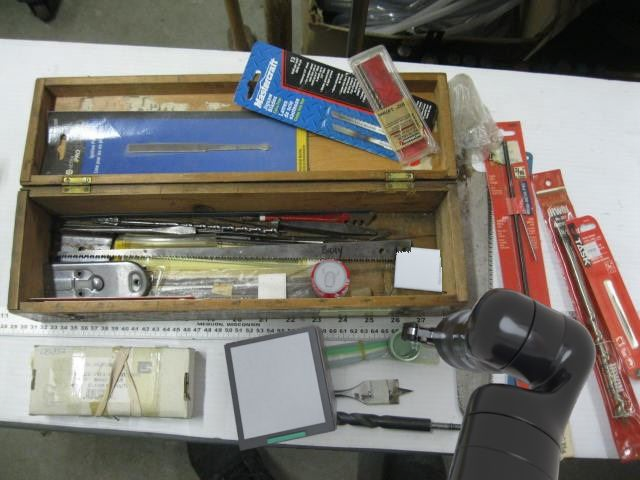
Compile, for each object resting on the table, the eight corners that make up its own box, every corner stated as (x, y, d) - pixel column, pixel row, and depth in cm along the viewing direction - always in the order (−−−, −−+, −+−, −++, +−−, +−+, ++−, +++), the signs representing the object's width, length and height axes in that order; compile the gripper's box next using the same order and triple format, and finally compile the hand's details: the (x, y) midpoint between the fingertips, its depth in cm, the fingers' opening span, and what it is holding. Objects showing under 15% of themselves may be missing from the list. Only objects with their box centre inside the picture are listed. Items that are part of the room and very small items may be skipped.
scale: (335, 427, 60) (335, 432, 58) (242, 447, 60) (238, 452, 58) (315, 326, 63) (314, 325, 61) (227, 344, 63) (222, 345, 61)
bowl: (420, 356, 86) (425, 357, 81) (391, 362, 86) (394, 363, 81) (412, 327, 87) (417, 326, 82) (384, 333, 87) (387, 332, 82)
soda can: (351, 269, 90) (353, 259, 78) (346, 305, 89) (347, 299, 77) (315, 264, 91) (312, 253, 79) (310, 300, 89) (306, 294, 77)
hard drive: (395, 247, 91) (458, 253, 90) (393, 287, 89) (456, 294, 88) (396, 245, 89) (460, 251, 89) (394, 286, 88) (459, 293, 87)
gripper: (410, 359, 56) (393, 355, 72) (527, 382, 55) (484, 373, 71) (419, 299, 57) (401, 308, 73) (533, 321, 56) (489, 325, 72)
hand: (442, 340), depth 72 cm, fingers open, 8 cm apart
